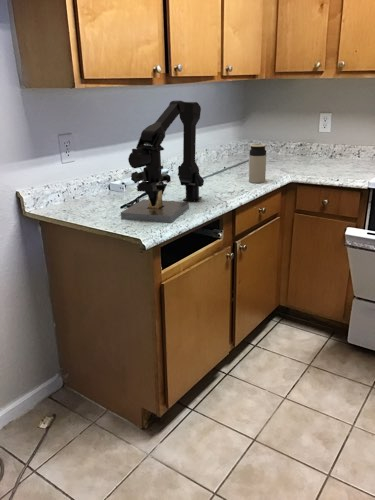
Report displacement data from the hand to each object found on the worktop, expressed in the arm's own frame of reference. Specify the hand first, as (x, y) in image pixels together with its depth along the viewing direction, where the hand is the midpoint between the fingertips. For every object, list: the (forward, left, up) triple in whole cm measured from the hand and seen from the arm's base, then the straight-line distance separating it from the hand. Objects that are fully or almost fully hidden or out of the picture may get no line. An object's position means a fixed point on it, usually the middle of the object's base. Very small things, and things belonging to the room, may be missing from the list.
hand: (155, 204), depth 170 cm
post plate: (0, 0, -4) cm, 4 cm away
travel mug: (-63, +27, -4) cm, 69 cm away
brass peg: (0, 0, -4) cm, 4 cm away
